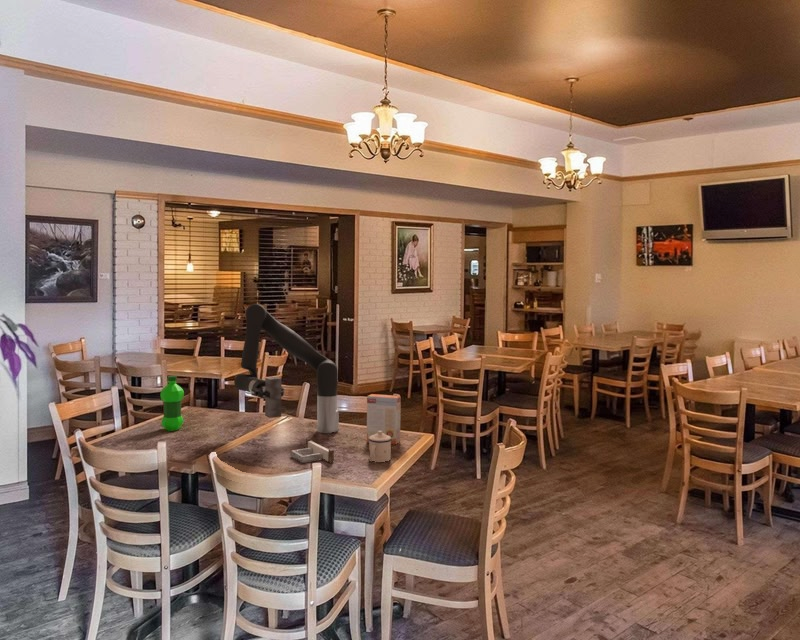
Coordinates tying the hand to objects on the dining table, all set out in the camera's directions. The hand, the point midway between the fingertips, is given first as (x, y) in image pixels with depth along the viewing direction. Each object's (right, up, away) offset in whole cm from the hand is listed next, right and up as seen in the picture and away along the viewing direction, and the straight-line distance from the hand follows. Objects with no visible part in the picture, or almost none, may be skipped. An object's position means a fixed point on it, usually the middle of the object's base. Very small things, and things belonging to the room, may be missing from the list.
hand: (275, 394), depth 255 cm
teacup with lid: (+42, -26, -9) cm, 50 cm away
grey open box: (+15, -25, -7) cm, 29 cm away
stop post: (-2, -9, +3) cm, 10 cm away
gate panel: (+19, -24, -4) cm, 31 cm away
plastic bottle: (-55, -21, +35) cm, 69 cm away
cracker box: (+44, -24, +19) cm, 53 cm away
